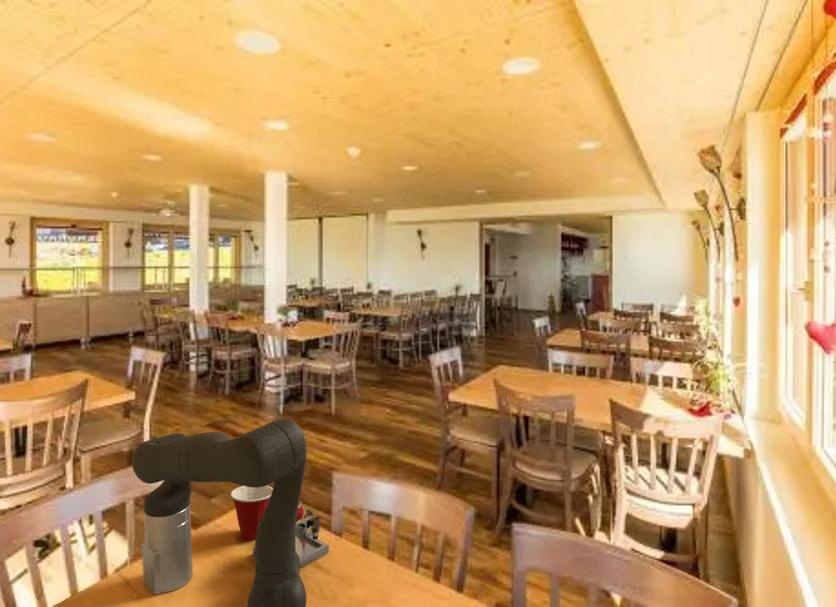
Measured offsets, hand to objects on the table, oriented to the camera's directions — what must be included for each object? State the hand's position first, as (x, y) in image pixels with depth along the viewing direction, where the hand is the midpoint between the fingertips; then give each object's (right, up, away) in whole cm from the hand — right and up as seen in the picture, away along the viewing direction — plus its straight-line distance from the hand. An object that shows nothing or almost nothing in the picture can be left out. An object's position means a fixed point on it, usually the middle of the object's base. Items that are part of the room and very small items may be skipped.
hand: (290, 514), depth 127 cm
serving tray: (0, -10, -1) cm, 10 cm away
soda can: (0, -9, -1) cm, 9 cm away
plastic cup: (-12, -9, +8) cm, 17 cm away
